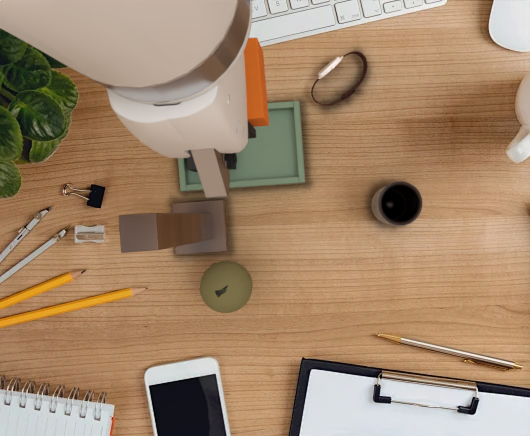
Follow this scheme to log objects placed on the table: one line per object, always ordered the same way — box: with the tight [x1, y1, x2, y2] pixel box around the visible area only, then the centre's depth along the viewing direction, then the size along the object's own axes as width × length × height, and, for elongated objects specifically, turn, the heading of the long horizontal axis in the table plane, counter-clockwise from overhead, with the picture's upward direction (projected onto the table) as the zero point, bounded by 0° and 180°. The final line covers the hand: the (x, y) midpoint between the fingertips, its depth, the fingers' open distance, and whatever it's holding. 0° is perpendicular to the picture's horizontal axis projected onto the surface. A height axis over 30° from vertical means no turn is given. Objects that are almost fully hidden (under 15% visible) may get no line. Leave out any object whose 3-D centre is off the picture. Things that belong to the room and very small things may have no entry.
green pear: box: [199, 260, 254, 314], centre depth 67 cm, size 6×6×10 cm
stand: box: [117, 199, 229, 256], centre depth 60 cm, size 6×6×24 cm
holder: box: [177, 100, 307, 193], centre depth 71 cm, size 14×9×2 cm, turn 94°
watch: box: [310, 50, 368, 107], centre depth 70 cm, size 8×5×4 cm, turn 132°
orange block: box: [244, 37, 269, 127], centre depth 39 cm, size 5×5×3 cm
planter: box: [370, 180, 423, 227], centre depth 67 cm, size 4×4×10 cm
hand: (229, 93), depth 41 cm, fingers closed on orange block, 4 cm apart
